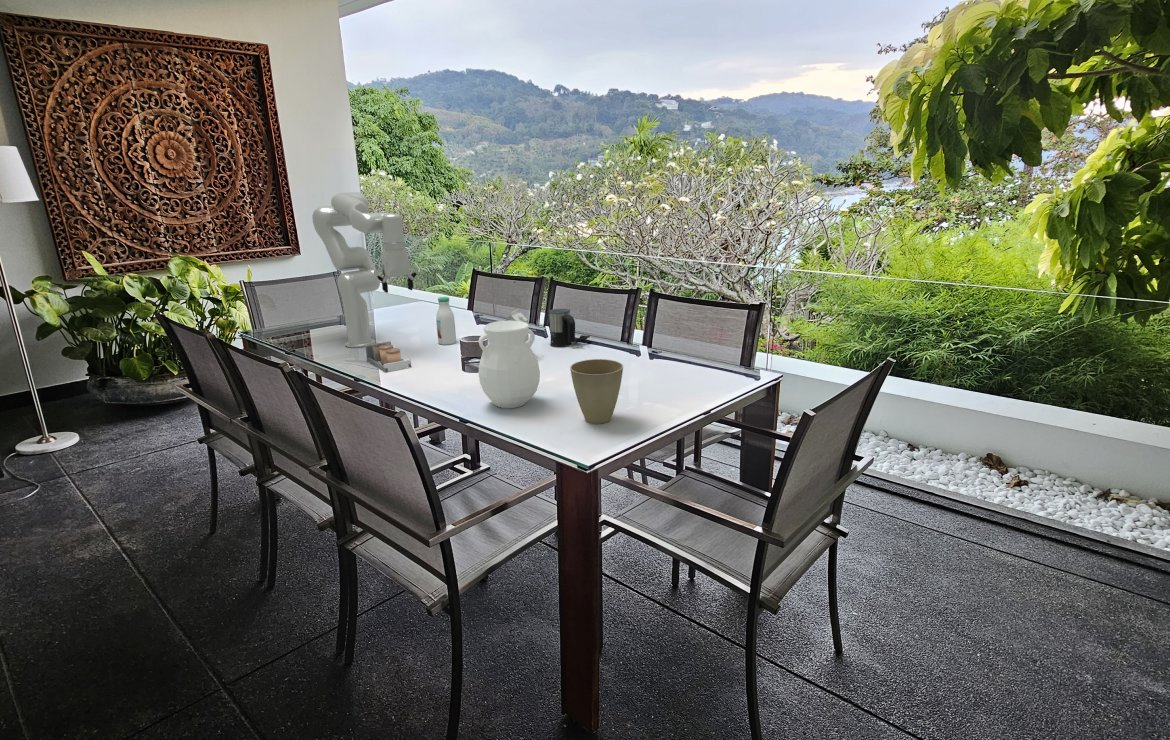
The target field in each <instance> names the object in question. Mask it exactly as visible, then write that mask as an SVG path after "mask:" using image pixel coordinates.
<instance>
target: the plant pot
mask: <svg viewBox="0 0 1170 740" xmlns="http://www.w3.org/2000/svg"><path fill="white" fill-rule="evenodd" d="M569 368H570V375H571V380H572V384H573V389H574V392H575V396H576V399H577V402H578V405H579V408H580V411H581V413H582V415H583V417H584V419H585V421H586V422H587V423H590V424H596V425H597V424H598V425H599V424H606V423H608V422H610V421H611V420H612V416H613V415H614V411H615V409H616V406H617V401H618V398H619V394H620V390H621V385H622V379H623V373H624V372H623V371H624V364H623V363H621V362H619V361H616V360H612V359H606V358H604V359H603V358H595V359H594V358H593V359H585V360H580V361H575V362H574V363H572V364H571V365H570V367H569Z"/></svg>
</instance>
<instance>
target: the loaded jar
mask: <svg viewBox="0 0 1170 740" xmlns="http://www.w3.org/2000/svg"><path fill="white" fill-rule="evenodd" d="M385 351H386V356H387V363H393V362H398V361H401V348H400V347H399V348H398V347H395V348H394V347H393V348H391V349H387V350H385Z"/></svg>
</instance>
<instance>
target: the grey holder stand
mask: <svg viewBox="0 0 1170 740" xmlns="http://www.w3.org/2000/svg"><path fill="white" fill-rule="evenodd" d="M365 354H366V362H367V363H369V362H370V363H369V364H371V365H372V364H373V365H372V366H375V367H376V368H377V367H378V369H379V370H381V371H382V370H383V371H382V372H384V373H389V371H390V372H394V371H393V370H395V371H399V370H398V369H400V370H403V369H402V368H406V369H408V368H407V367H411V368H412V360H411V359H410V358H409V359H404V358H401V361H398V362H393V363H387V364H384V365H382V364H381V362H379V361H378V362H377V361H375V360H374V355H373V347H372V345H370V346H365Z"/></svg>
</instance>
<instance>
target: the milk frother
mask: <svg viewBox="0 0 1170 740" xmlns="http://www.w3.org/2000/svg"><path fill="white" fill-rule="evenodd" d="M548 313H549V332H550V343H549V345H550V347H554V348H555V347H556V348H562V347H569V346H572V343H577V342H579V341H580V342H582V343H583V342H585V341H587V339H590V336H591V335H583V334H582V335H580V336H579V337H578V338H576V321H575V318H574V317H573V316H572V315H571V309H569V308H553V309H549V310H548Z"/></svg>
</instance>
